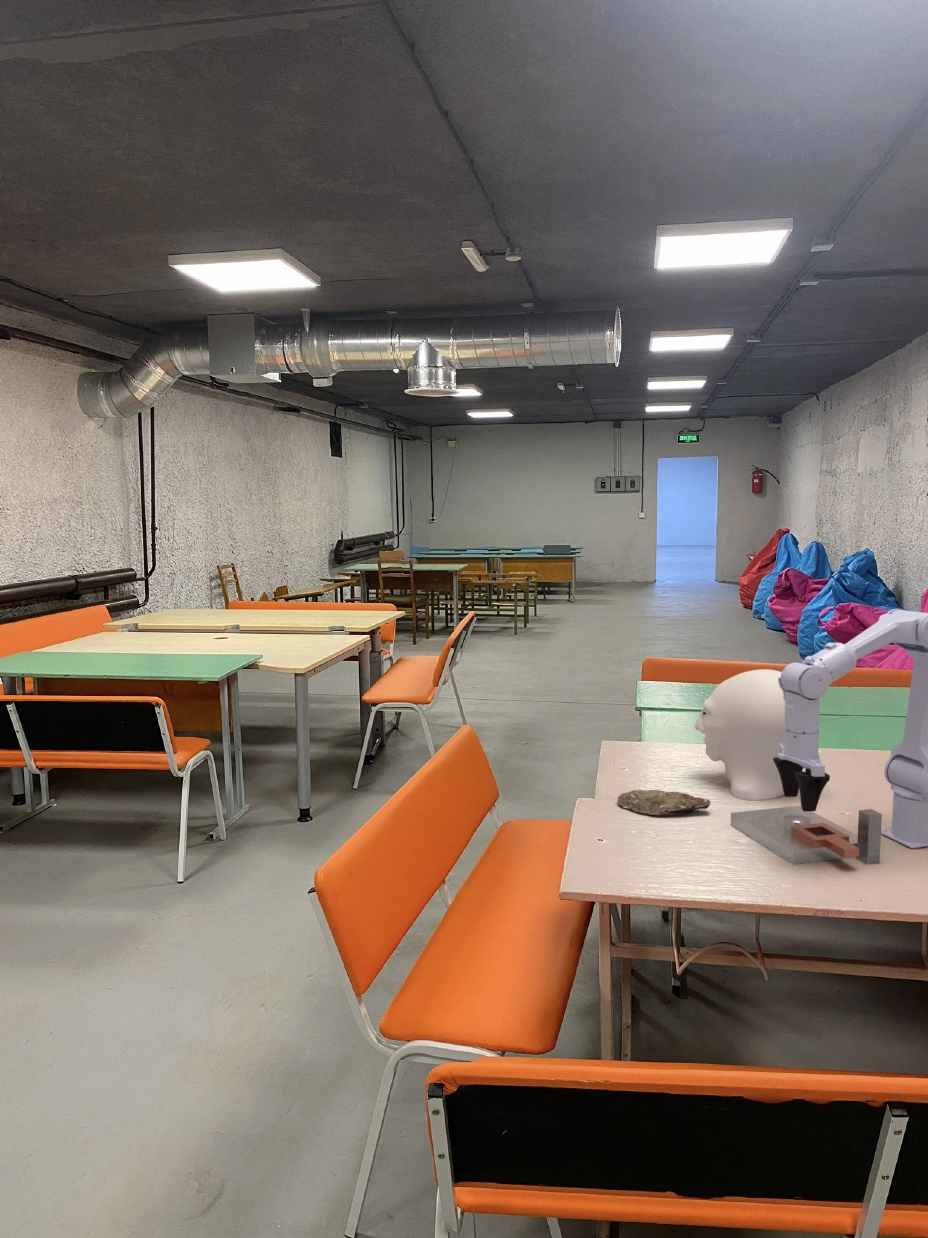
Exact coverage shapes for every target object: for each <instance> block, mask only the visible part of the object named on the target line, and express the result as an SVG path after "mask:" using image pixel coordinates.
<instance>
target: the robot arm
mask: <svg viewBox="0 0 928 1238" xmlns="http://www.w3.org/2000/svg"><path fill="white" fill-rule="evenodd" d="M890 644H894V645H896V646H897V647H899V648H902V649H903V650H904V651H905V652H906V654H908V656H909V657H910V658H911V659H912V660H913V665H912V672H911V673H912V674H911V681H910V689H909V695H908V702H907V711H906V717H905V722H904V723H905V724H904V731H903V739H902V741H901V742H899V743H898V744H896V745H894V746H893V747H891V750H890V751H891V752H890V756H889V758H888V760H887V761H886V763H885V767H884V777H885V780H886V781H887V782H888V783H889V784H890V790H891V791H893V795H892V796H893V797H892V799H893V800H892V816H891V819H892V821H891V829H885V830H881V835H883V836H885V837H887V838H890V839H891V840H893V841H895V842H897V843H899V844H902V845H904V846H906V847H907V848H910V849H918V848H927V847H928V612H923V611H921V612H920V611H913V610H903V609H901V608H894V609H893V608H892V609H891V610H889V611H887V612H886V613H885V614H881V615H880V616H879V618H878V621H877V622H875V623H873V624H872V625H871V626H869V627H868V628H866V629H865V630H864V631H861V633H859V634H858V635H856V636H855V637H853V638H852V639H850V640H849V641H848V642H846V643H842V642H828V643H826V644H825V645H824V648H823V649H821V650H820V651H817V653H814V654H813V655H807V656H806V657H805V658H804V660H803V661H802V662H791V663H789V664H788V665H786V666H785V667H784V668H783V669H782V671H781V672H782V673H781V676H780V678H778V683H779V686H780V688H781V689H782V691H783V699H784V700H785V727H784V743H780V744H779V753H778V754H777V757H775V758H773V761H774V763H775V765H776V767H777V769H778V772H779V775H780V778H781V783H782V787H783V792H784V795H783V796H784V797H785V798H792V797H793V798H795V797H796V798H797V797H798V794H799V796H800V797H799V798H800V806H801V807H802V810H803V811H805V812H806V811H812V812H816V810H817V809H818V808H817V806H818V804H819V802H820V801H819V800H820V798H821V794H822V792H823V790H824V789H825V786H826V785H827V784H828V782H829V781H830V779H831V775H830V774H828V773H827V772H826V771H825V770H826V765H824V764H823V762H822V759H821V757H820V755H819V745H820V744H819V738H820V735H819V734H820V732H819V731H820V707H821V706H820V705H821V699H820V698H822V697H824V695H826V693H827V691H828V690H829V689H828V688H829V686H830V685H832V684H833V683H834V682H835V681H837V680H839V679H840V678H842V677H843V676H846V674H848V673H850V672H852V671H853V670H855V668H856V666H857V661H858V660H860V659H862V658H864V657H866V656H868V655H870V654H871V653H874V652H876V651H878V650H880V649H881V648H883V647H885V646H887V645H890ZM804 769H805V771H803V770H804Z"/></svg>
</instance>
